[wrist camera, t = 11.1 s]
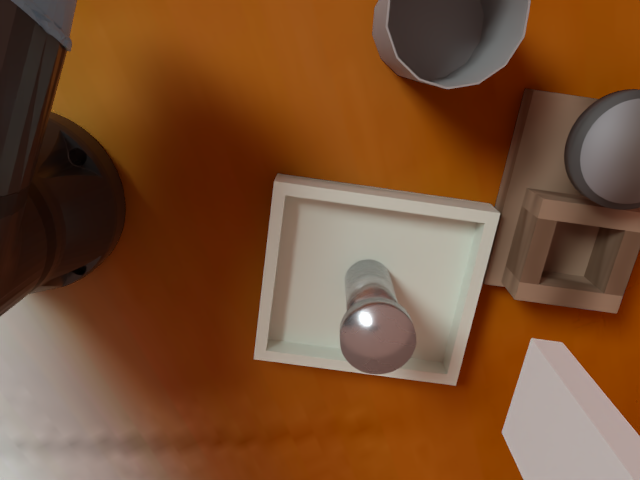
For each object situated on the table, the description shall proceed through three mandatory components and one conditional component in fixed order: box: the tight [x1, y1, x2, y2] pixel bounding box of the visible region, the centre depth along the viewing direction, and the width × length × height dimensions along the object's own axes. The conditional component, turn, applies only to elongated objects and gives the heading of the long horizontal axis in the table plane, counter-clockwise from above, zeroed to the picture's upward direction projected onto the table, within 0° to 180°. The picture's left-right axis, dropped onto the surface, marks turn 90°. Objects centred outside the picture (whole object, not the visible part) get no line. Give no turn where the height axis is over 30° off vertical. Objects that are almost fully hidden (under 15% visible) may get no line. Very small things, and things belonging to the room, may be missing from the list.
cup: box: [372, 0, 531, 89], centre depth 36 cm, size 8×8×10 cm
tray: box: [254, 173, 500, 386], centre depth 46 cm, size 18×16×3 cm
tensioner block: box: [483, 88, 640, 313], centre depth 41 cm, size 11×17×8 cm, turn 172°
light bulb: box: [340, 259, 416, 374], centre depth 42 cm, size 5×5×10 cm
